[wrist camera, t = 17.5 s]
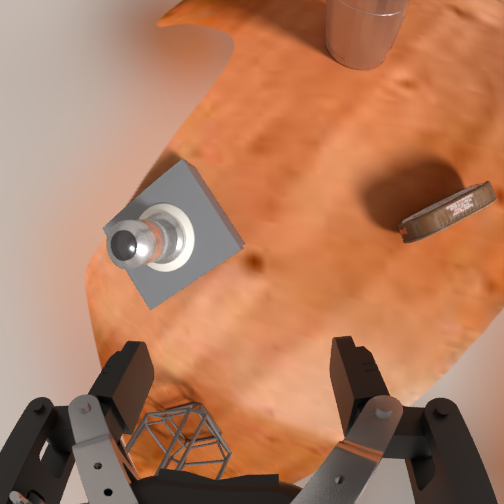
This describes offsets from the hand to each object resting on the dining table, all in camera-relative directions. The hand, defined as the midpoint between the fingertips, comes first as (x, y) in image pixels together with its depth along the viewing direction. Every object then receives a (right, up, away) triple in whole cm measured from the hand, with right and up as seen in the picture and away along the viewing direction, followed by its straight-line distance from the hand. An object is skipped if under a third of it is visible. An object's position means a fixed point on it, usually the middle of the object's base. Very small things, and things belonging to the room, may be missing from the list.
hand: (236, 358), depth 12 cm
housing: (-11, +6, +27) cm, 29 cm away
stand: (-10, +7, +31) cm, 33 cm away
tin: (+26, +10, +24) cm, 37 cm away
